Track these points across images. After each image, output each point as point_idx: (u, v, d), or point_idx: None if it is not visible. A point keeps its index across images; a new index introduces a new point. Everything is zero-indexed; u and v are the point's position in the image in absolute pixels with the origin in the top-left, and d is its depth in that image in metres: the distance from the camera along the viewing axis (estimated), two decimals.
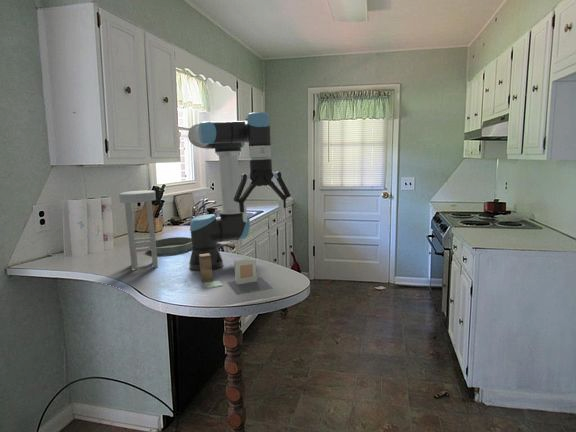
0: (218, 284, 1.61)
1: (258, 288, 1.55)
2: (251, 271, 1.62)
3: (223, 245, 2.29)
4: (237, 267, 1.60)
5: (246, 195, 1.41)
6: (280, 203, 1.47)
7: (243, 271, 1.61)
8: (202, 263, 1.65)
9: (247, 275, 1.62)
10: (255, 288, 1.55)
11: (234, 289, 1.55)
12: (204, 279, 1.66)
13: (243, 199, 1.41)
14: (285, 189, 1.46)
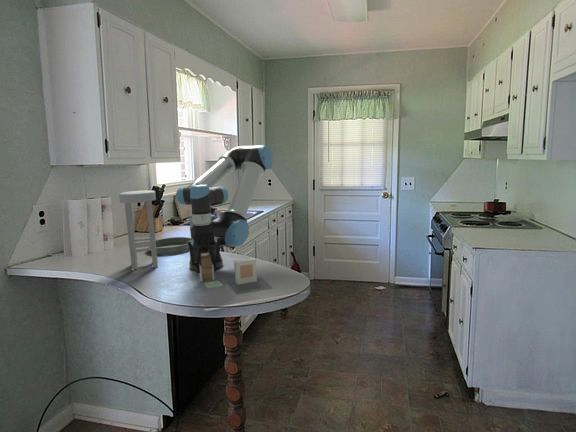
0: (218, 284, 1.61)
1: (258, 288, 1.55)
2: (251, 271, 1.62)
3: None
4: (237, 267, 1.60)
5: (198, 258, 1.65)
6: None
7: (243, 271, 1.61)
8: (202, 263, 1.65)
9: (247, 275, 1.62)
10: (255, 288, 1.55)
11: (234, 289, 1.55)
12: (204, 279, 1.66)
13: (198, 262, 1.65)
14: (218, 254, 1.68)
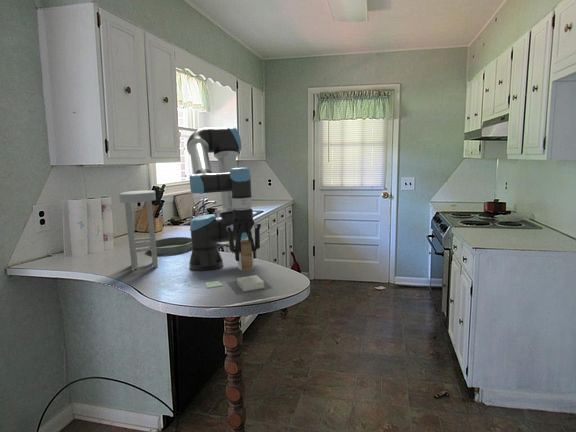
0: (218, 284, 1.61)
1: None
2: None
3: (223, 245, 2.29)
4: None
5: (238, 245, 1.58)
6: None
7: None
8: (242, 249, 1.58)
9: None
10: None
11: (234, 289, 1.55)
12: (244, 266, 1.59)
13: (237, 249, 1.58)
14: (257, 240, 1.60)
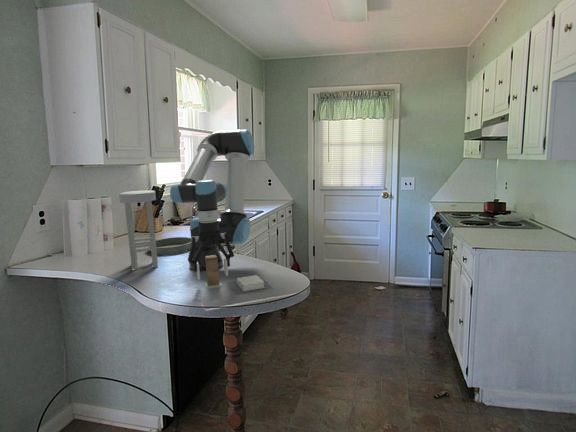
0: None
1: None
2: None
3: (223, 245, 2.29)
4: None
5: (198, 256, 1.57)
6: (224, 262, 1.62)
7: None
8: (208, 265, 1.58)
9: None
10: None
11: (234, 289, 1.55)
12: (210, 282, 1.59)
13: (196, 260, 1.57)
14: (229, 249, 1.61)
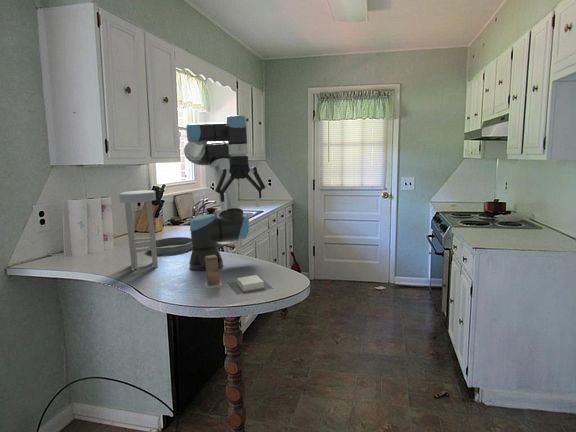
0: None
1: None
2: None
3: (223, 245, 2.29)
4: None
5: (226, 187, 1.63)
6: (256, 194, 1.69)
7: None
8: (208, 265, 1.58)
9: None
10: None
11: (234, 289, 1.55)
12: (210, 282, 1.59)
13: (223, 190, 1.63)
14: (260, 182, 1.68)
